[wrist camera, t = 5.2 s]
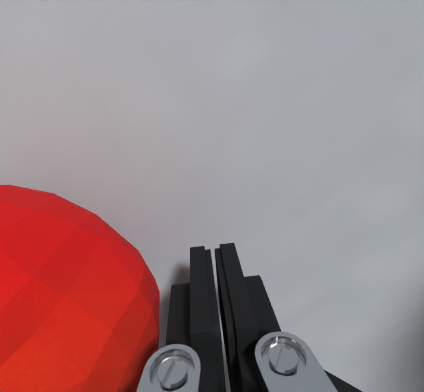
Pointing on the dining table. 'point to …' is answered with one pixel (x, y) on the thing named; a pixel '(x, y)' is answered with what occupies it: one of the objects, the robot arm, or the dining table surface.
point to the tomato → (70, 299)
